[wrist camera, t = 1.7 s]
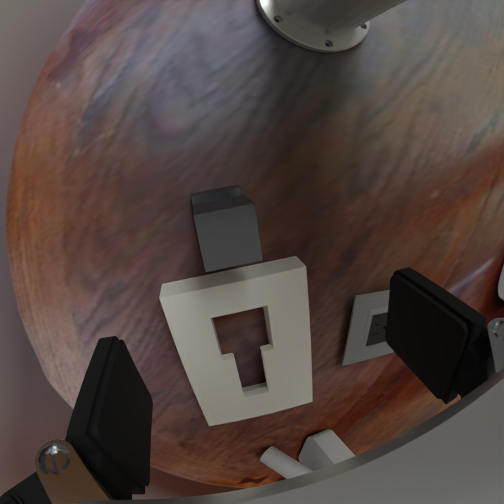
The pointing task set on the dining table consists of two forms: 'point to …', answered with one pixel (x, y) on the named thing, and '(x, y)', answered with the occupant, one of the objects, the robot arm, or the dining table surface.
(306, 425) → the dining table surface
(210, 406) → the keyhole plate
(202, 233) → the keyhole peg
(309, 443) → the wall hook
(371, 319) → the electrical outlet
